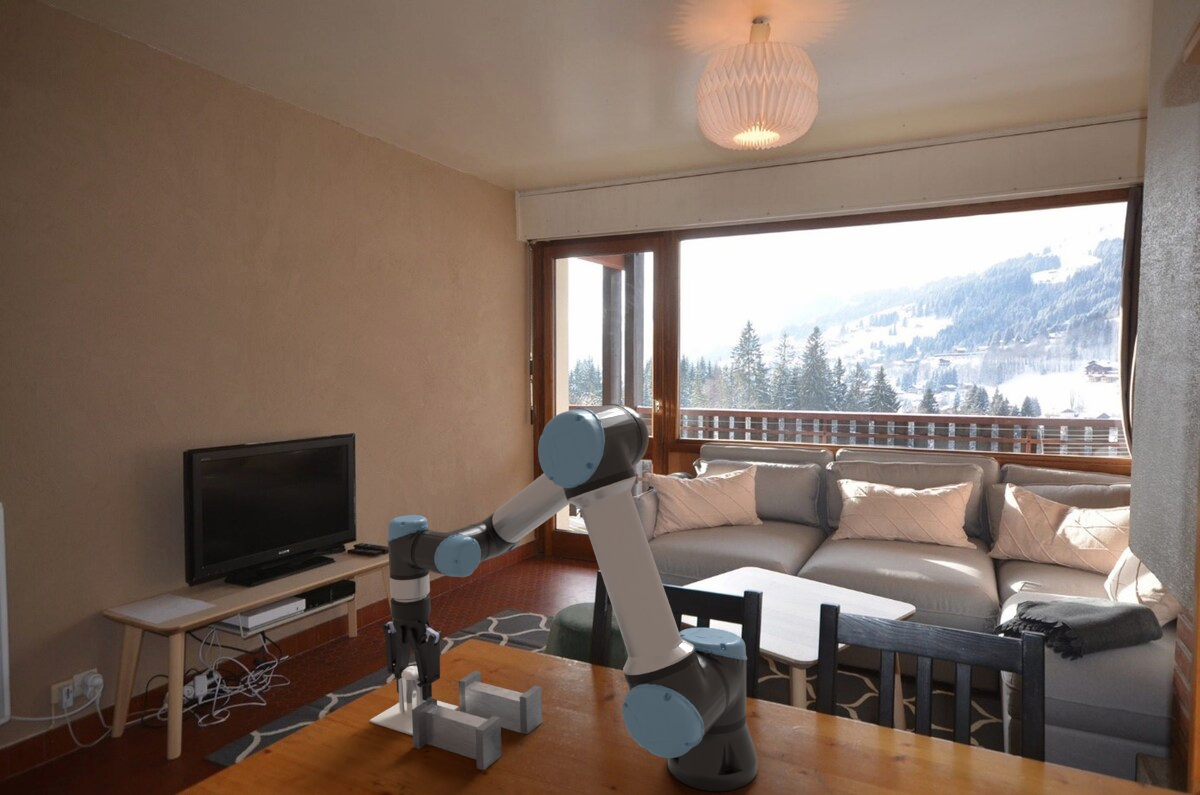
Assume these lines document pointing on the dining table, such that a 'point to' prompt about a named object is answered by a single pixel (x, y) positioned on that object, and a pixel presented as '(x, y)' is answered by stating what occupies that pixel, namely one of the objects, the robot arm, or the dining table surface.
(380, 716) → the pad
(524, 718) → the brackets
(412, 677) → the milkshake
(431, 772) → the dining table surface
